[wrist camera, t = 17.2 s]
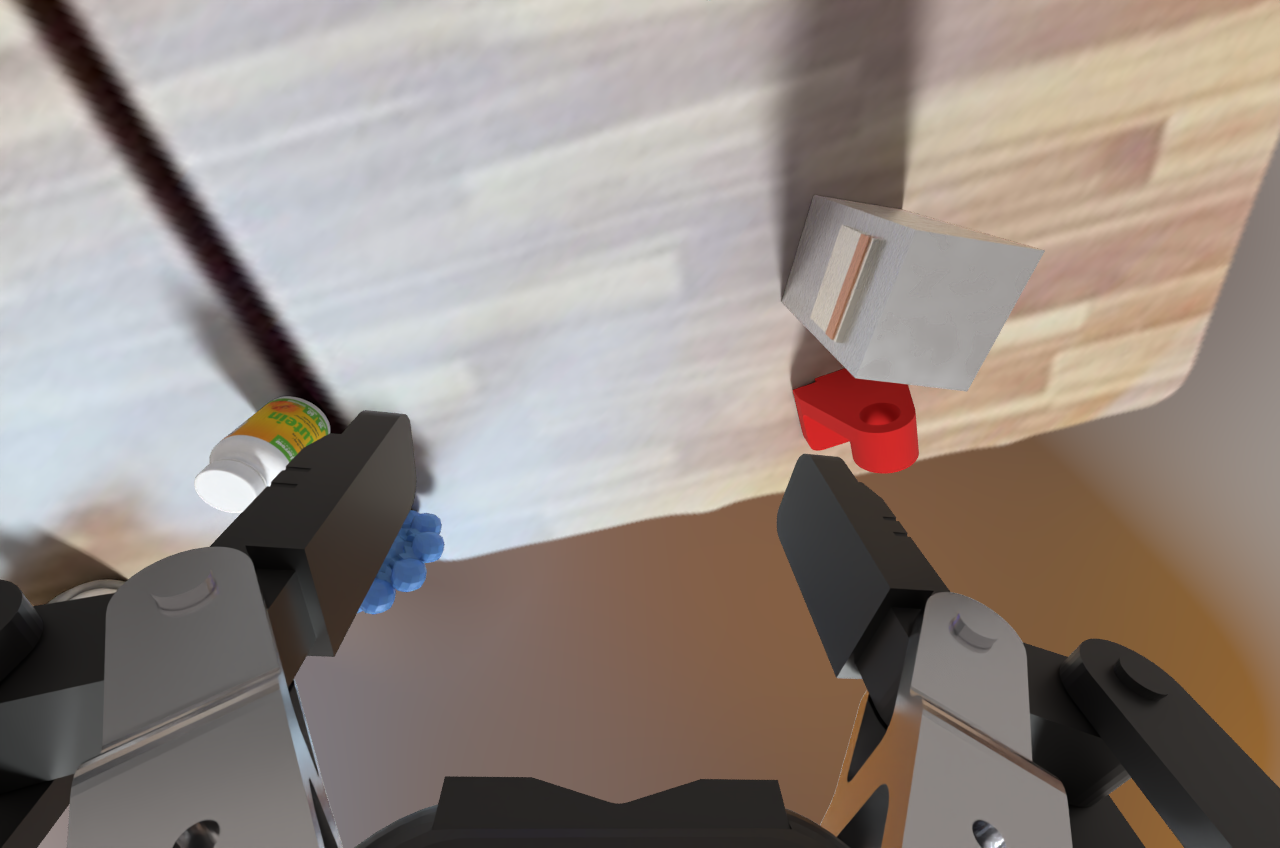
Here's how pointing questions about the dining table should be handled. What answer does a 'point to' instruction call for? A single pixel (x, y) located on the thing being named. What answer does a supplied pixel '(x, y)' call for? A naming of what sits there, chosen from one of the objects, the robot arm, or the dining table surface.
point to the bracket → (860, 419)
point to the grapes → (405, 561)
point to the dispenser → (904, 291)
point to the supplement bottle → (259, 452)
